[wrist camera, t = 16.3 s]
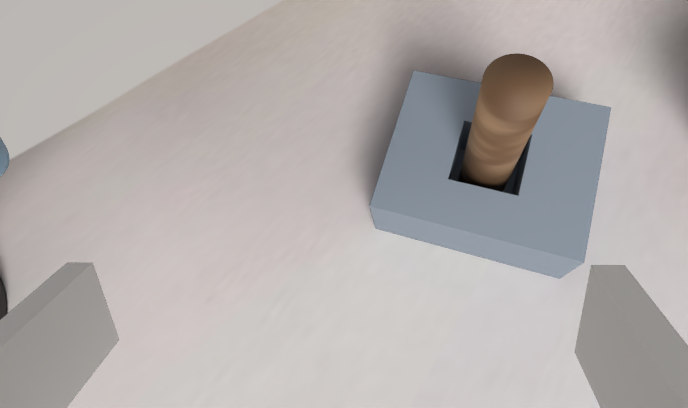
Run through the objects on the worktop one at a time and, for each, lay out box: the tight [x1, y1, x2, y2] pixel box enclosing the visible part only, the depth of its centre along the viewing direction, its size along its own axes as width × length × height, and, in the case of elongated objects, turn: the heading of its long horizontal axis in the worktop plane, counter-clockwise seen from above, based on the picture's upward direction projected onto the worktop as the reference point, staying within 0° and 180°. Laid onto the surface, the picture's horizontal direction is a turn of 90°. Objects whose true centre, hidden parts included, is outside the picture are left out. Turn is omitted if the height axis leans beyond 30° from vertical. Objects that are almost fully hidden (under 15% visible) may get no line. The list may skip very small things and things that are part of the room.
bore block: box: [370, 71, 611, 279], centre depth 40 cm, size 16×13×6 cm
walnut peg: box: [458, 54, 553, 192], centre depth 35 cm, size 4×4×15 cm
